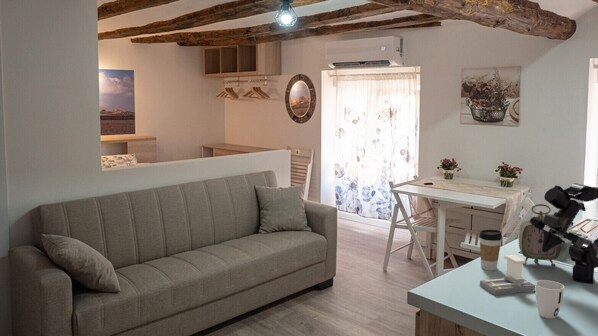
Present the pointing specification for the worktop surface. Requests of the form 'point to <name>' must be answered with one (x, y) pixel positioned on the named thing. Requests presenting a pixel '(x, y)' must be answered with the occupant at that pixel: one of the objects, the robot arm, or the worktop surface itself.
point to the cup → (549, 298)
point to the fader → (514, 269)
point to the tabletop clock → (535, 241)
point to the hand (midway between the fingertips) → (543, 251)
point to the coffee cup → (489, 248)
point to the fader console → (505, 286)
